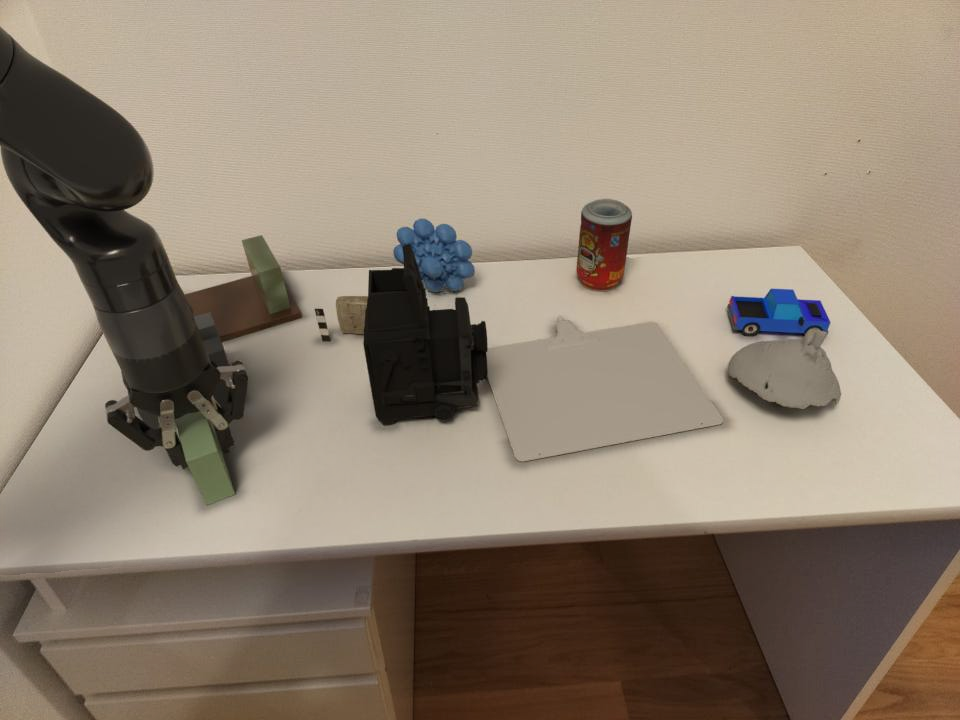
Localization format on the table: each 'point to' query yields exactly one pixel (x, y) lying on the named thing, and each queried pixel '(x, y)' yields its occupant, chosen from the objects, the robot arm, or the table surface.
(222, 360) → the grey grooved block
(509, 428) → the grey rectangular panel
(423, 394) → the camera
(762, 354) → the grey clay mound
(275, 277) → the book rack
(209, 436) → the green book
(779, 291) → the toy car
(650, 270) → the table surface
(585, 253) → the soda can
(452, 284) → the grapes
